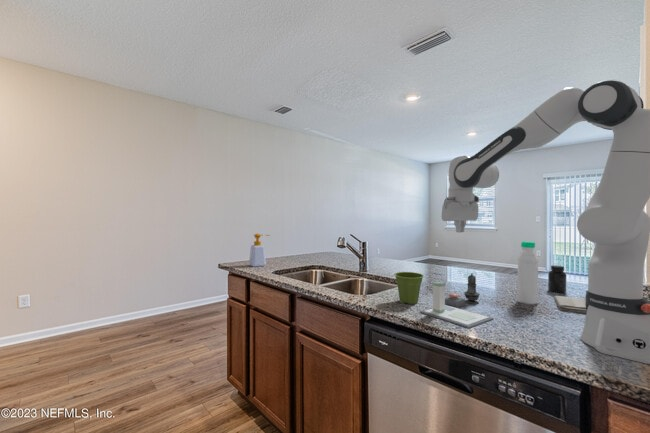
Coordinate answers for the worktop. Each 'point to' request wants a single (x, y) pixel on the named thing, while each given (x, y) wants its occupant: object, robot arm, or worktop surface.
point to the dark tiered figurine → (471, 291)
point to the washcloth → (571, 304)
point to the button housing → (455, 302)
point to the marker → (438, 297)
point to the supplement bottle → (557, 279)
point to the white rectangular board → (458, 316)
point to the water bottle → (527, 274)
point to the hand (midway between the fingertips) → (460, 232)
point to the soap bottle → (257, 253)
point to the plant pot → (409, 286)
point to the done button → (453, 296)
